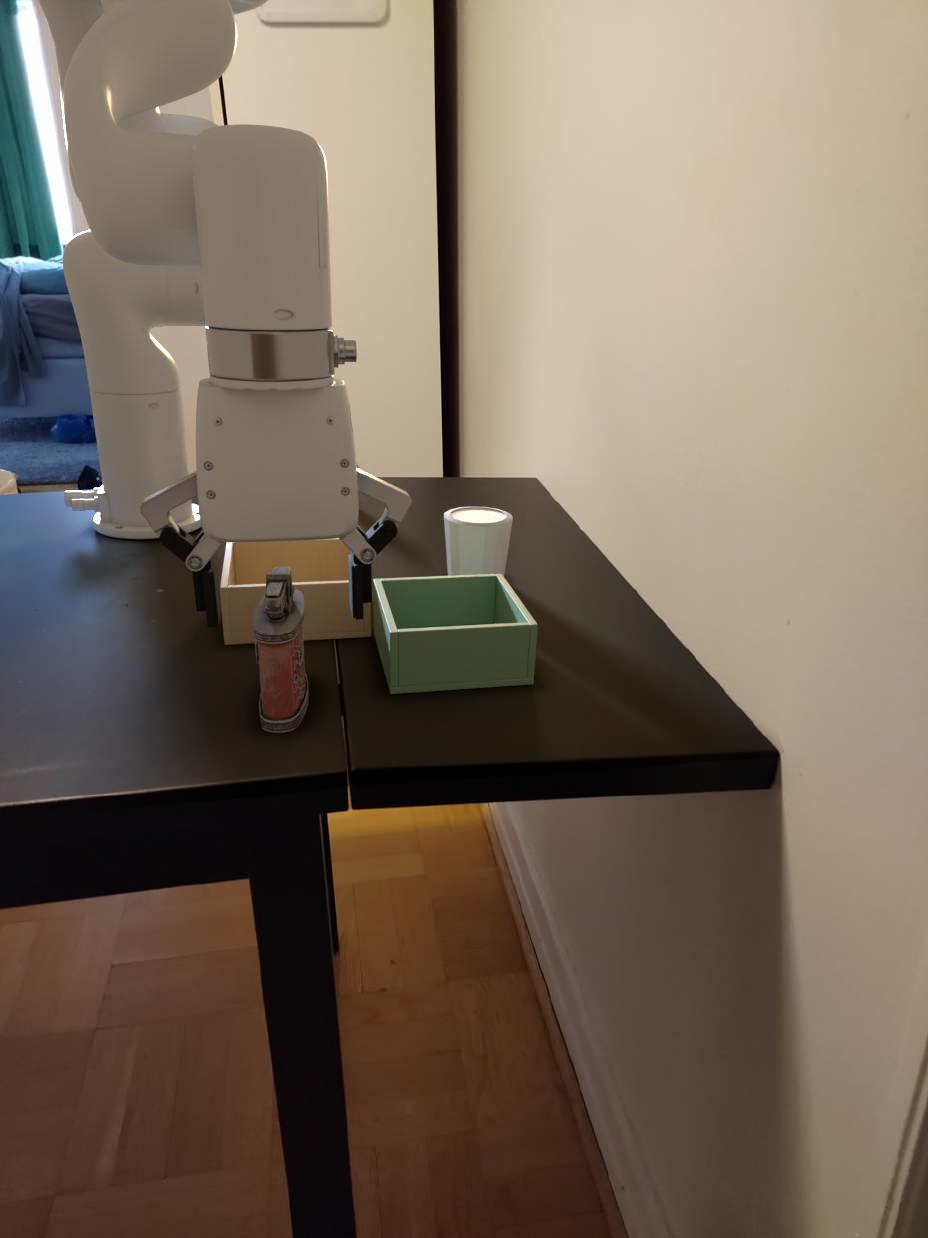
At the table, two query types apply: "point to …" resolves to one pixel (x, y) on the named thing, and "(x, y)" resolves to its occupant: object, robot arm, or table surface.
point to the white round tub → (477, 540)
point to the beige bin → (313, 573)
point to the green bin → (453, 633)
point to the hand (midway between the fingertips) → (286, 616)
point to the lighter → (281, 653)
